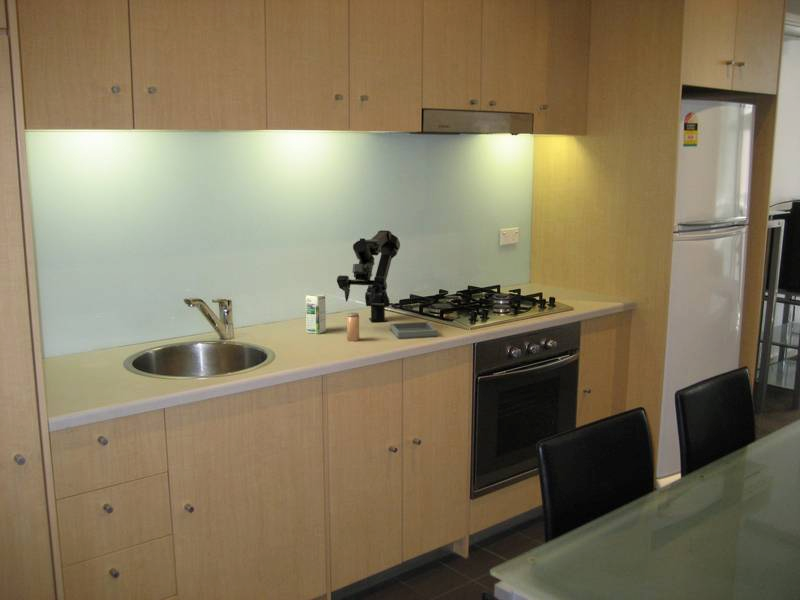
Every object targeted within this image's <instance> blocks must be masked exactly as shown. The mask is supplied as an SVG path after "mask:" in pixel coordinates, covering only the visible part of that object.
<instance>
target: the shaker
mask: <svg viewBox="0 0 800 600" xmlns="http://www.w3.org/2000/svg"><path fill="white" fill-rule="evenodd" d="M346 331H347V332H346V335H347V337H346V339H347V340H348V342H351V341H355V342H359V341H360V315H359V313H358V312H349V313H347V316H346Z"/></svg>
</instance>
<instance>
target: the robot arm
mask: <svg viewBox="0 0 800 600" xmlns="http://www.w3.org/2000/svg"><path fill="white" fill-rule="evenodd" d="M352 249H353V252H354V254H355V256H356V257H355V258H356V259H357V260H359V262H358V263H353V265H352V273H353V277H354V278H350V277H349V275H338V276H337V278H336V284H337V285H338V288H339V289H340V290H341V291H342V292H343V291H344V292H343V293H344V298H345V302H348V300H349V297H350V293H351V292H350V291H351V289H350V288H351V285H352V286H355V285H356V286H367V288H366V292H365V293H364V298H365V299H364V301H365V306H366V307H370V317H369V318H368V320H369V321H370V322H371V323H379V322H380V323H381V322H388V320H387V319H386V311H385V310H386V308H387V307H390V297H389V296H388V292H387V288H388V284H387V279H388V274H389V271H390V267H391V262H392V259H394V257H396V256H397V254H398V251H400V249H401V243H400V240H399V238H398V236H397V235H394V234H393V233H392V232H391V231H390V230H378V232H377V233H376V234H375V235H374V236H373V237H372V238H370V239H366V238H361V237H360V238H359V240H357V241H355V243H353V245H352ZM378 255H380V258H379V261H378V265H377V270H376V273H375V276H374V278H373V279H372V278H371V277H373V269H374V265H375V257H374V256H378Z"/></svg>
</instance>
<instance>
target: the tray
mask: <svg viewBox="0 0 800 600" xmlns="http://www.w3.org/2000/svg"><path fill="white" fill-rule="evenodd" d="M389 331H390V332H391V333H392V334H393V335H394V336H395V337H396V338H397V339H398V340H405V339H406V340H407V339H421V338H422V339H423V338H436V337H438V330H437V329H436V328H435V327H434V326H433V325H432V324H431V323H429V322H428V321H417V322H414V321H413V322H400V323H398V322H396V323H390V324H389Z"/></svg>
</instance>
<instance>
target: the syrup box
mask: <svg viewBox="0 0 800 600" xmlns="http://www.w3.org/2000/svg"><path fill="white" fill-rule="evenodd" d="M326 312H327V311H326V295H323V294H307V295H305V313H306V314H305V315H306V316H305V318H306V320H305V321H306V328H305V329H306V334H308V333H309V334H316V335H320V334H323V333H325V332H326V331H327V318H326V317H327V316H326V315H327V313H326Z"/></svg>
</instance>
